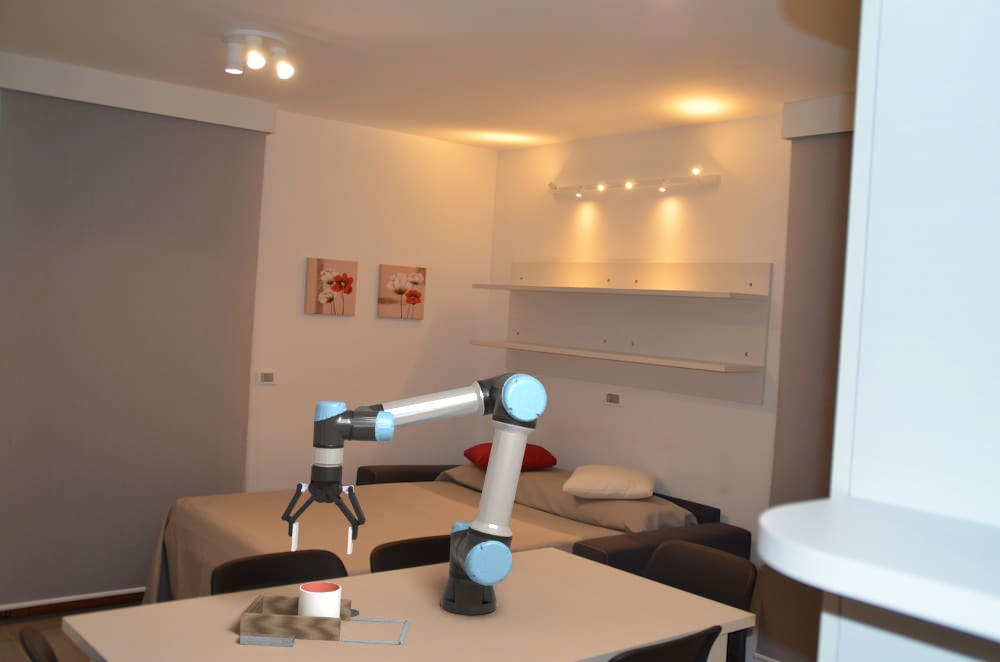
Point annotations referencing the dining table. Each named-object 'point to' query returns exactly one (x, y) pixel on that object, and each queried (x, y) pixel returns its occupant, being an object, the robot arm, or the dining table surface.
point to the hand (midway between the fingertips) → (322, 551)
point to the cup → (319, 599)
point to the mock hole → (354, 612)
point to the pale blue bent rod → (382, 641)
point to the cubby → (291, 619)
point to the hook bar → (266, 639)
